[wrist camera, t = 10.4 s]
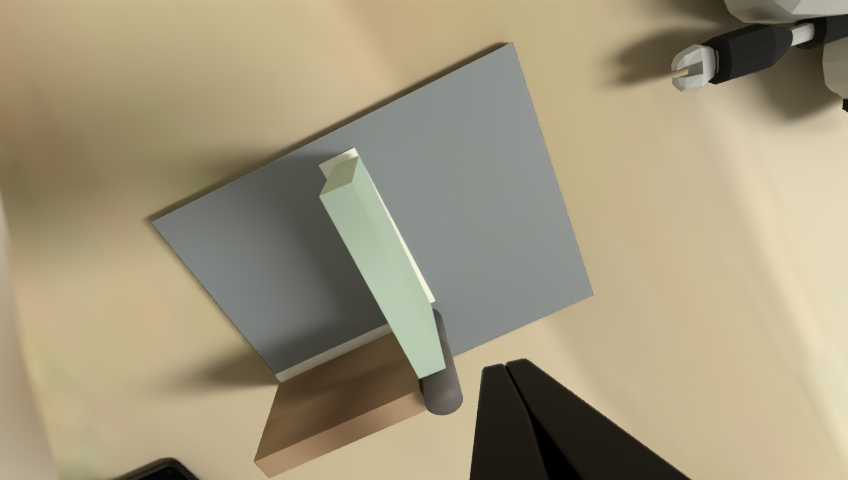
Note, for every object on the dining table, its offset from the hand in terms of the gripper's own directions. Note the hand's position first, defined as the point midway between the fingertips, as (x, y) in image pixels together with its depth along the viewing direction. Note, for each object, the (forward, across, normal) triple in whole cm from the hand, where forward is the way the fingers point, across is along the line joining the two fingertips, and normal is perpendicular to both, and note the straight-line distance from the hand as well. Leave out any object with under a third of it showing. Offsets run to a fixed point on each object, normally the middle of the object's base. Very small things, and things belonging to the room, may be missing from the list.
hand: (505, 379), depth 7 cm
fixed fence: (+12, +5, +8) cm, 16 cm away
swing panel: (+12, +3, +2) cm, 12 cm away
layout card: (+13, +2, +3) cm, 13 cm away
